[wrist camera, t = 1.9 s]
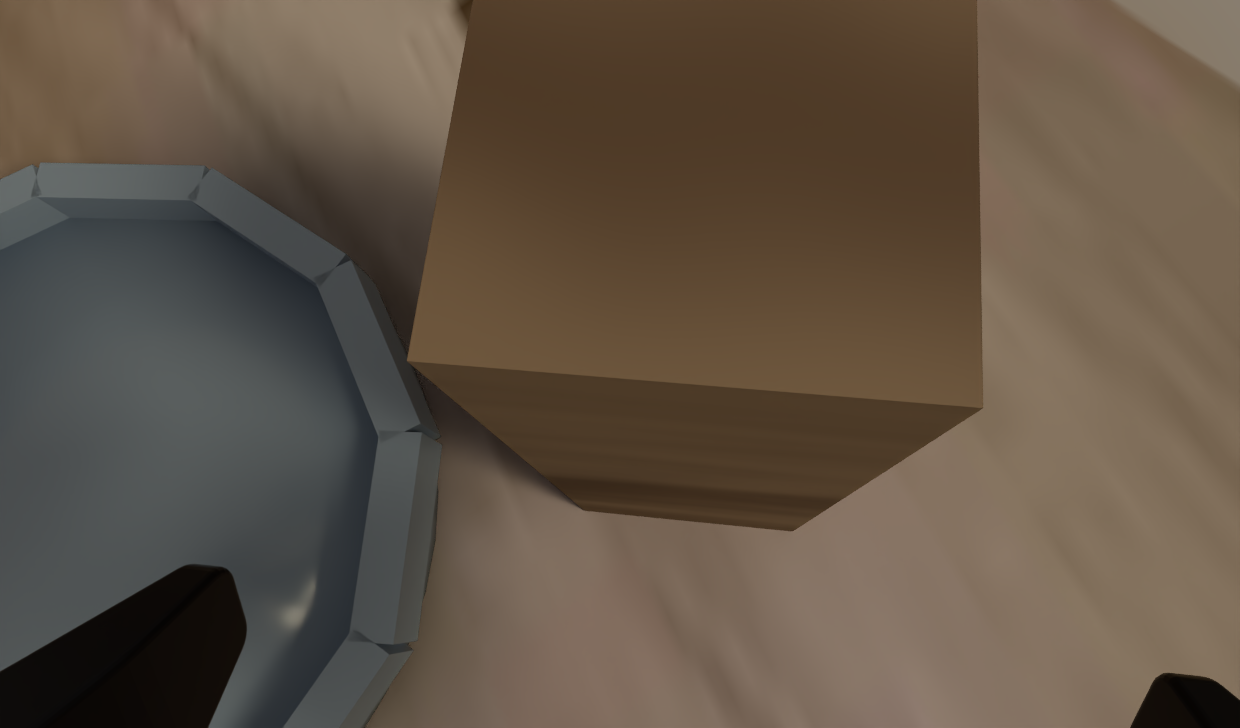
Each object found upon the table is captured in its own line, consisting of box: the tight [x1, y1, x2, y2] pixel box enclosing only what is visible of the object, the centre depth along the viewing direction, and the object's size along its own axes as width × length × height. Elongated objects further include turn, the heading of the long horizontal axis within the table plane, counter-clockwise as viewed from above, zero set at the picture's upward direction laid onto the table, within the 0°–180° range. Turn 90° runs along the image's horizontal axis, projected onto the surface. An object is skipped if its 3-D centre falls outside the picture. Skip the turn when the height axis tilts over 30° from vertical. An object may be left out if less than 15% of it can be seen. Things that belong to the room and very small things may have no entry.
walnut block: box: [407, 0, 983, 531], centre depth 14 cm, size 5×5×13 cm
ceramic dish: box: [0, 163, 442, 728], centre depth 20 cm, size 18×18×2 cm
